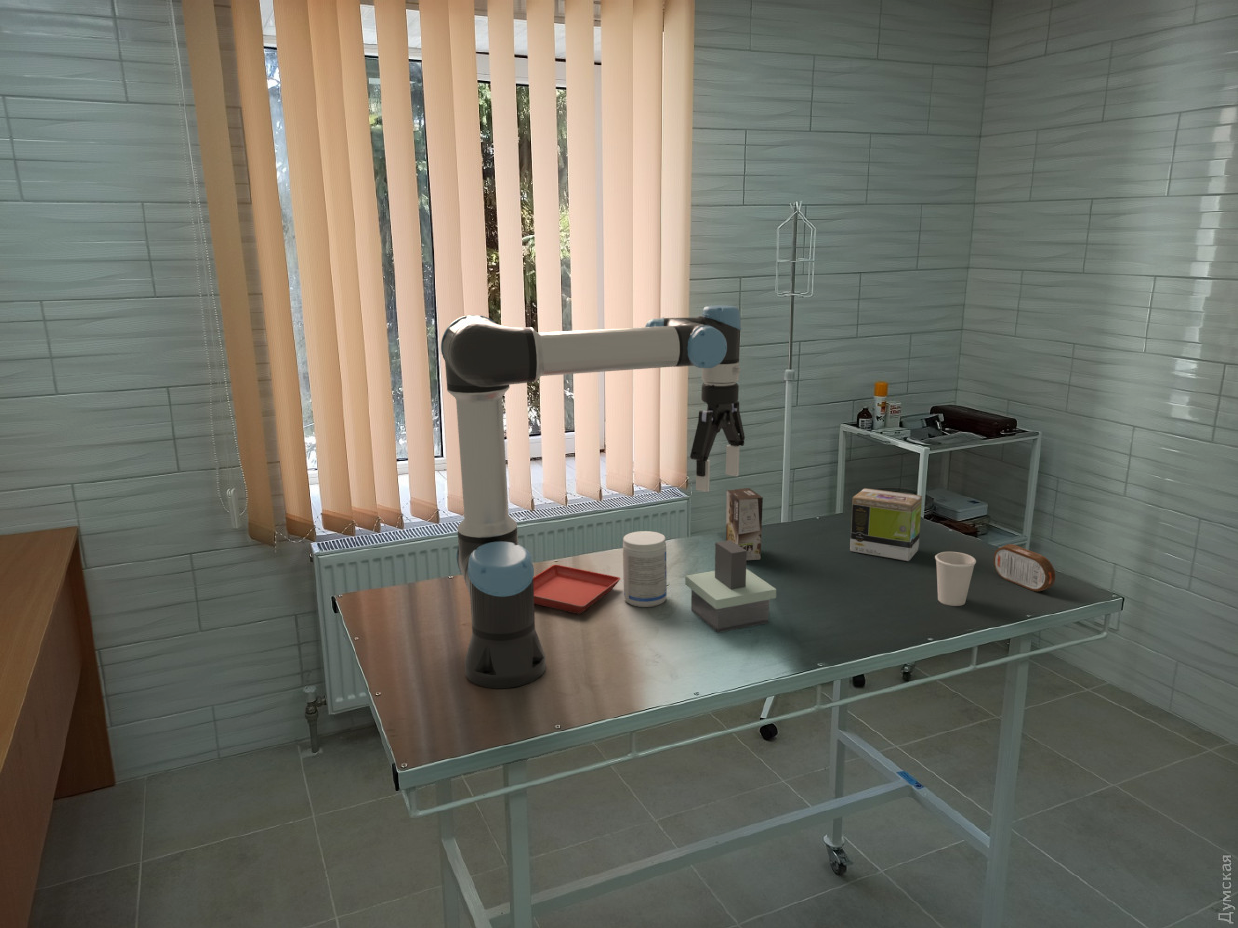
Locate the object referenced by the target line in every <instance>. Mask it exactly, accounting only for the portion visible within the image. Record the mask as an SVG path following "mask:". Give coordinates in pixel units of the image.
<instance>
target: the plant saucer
mask: <svg viewBox="0 0 1238 928" xmlns="http://www.w3.org/2000/svg"><path fill="white" fill-rule="evenodd" d="M620 580H621V578H620V577H618V576H615V575H610V574H604V573H600V572H595V571H590V570H587V569H586V570H585V569H580V568H577V567H571V566H566V565H560V564H553V565H551V566H549V567H547V568H546V569H544V570H542V571H541V572H540V573H538V574H535V576H533V585H534V605H538V606H543V607H546V608H552V609H556V610H561V611H564V612H570V613H573V614H582V613H583V612H585V611H586V610H587V609H589V608H590V607H591V606H592V605H594V604H595V603H597V602H598V601H599V600H601V599H602V598H603V597H605V595H607V594H609V592H611V591H612V590H613V589H614V588H615V587H616V586H617V585H618V583H619V582H620Z"/></svg>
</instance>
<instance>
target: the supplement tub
mask: <svg viewBox="0 0 1238 928" xmlns="http://www.w3.org/2000/svg"><path fill="white" fill-rule="evenodd" d="M622 540H623V543H622V567H623V568H622V569H623V571H622V572H623V598H624V600H625V602H626V603H627V604H629V605H631V606H635V607H639V608H651V607H656V606H659V605H661V604H663V603H664V602H665V601H666V600H667V595H668V594H667V593H668V592H667V589H668V587H667V583H668V582H667V579H668V578H667V577H668V576H667V572H668V571H667V569H668V568H667V543H666V541H667V540H666V536H665V535H664V534H662V533H660V532H657V531H650V530H649V531H648V530H647V531H646V530H645V531H644V530H641V531H633V532H630V533H627V534H625V535H624V536H623V539H622Z"/></svg>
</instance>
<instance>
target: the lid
mask: <svg viewBox="0 0 1238 928" xmlns="http://www.w3.org/2000/svg"><path fill="white" fill-rule="evenodd" d="M714 547H715V548H714V549H715V554H714V555H715V556H714V570H710V571H706V572H705V571H704V572H699V573H693V574H688V575H687V574H686V575H685V577H684V578H685V584H684V585H685V586H687V587H688V588H689V589H690V590H693V591H694V592H695V593H697V594H698V595H699V596H700V597H702V598H703V599H704V600H705V601H706V602H708V603H709V604H710V605H711V606H713V607H714V608H715V609H721V608H726V607H731V606H737V605H742V604H747V603H753V602H758V601H764V600H769V601H770V600H774V599H776V598H777V588H776V587H774V586H773V585H771V584H770V583H768V582H767V581H765V580H764V579H762V578H761V577H759V576H758V575H757V574H755V573H753V572H752V571H751V570H750V569H747V560H746V558H747V551H746V550H745V549H743V548H742V547H740V546H738V545H737V544H735V543H734V542H732V541H731V540H728V541H726V540H722V541H716V542H715V546H714Z"/></svg>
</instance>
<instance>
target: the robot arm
mask: <svg viewBox="0 0 1238 928" xmlns="http://www.w3.org/2000/svg"><path fill="white" fill-rule="evenodd" d="M741 324H742V321H741V311H740V309H739V308H738V307H737V306H734V305H727V304H726V305H725V304H724V305H723V304H717V305H716V304H715V305H707V306H704V307H703V310H702V313H701V316H700V315H699V316H695V317H694V316H693V317H665V316H664V317H661V318H653V319H648V321H647V322H646V324H645V326H643V327H641V326H640V327H627V328H626V327H624V328H607V329H606V328H605V329H603V328H601V329H587V330H585V329H584V330H583V329H582V330H568V331H567V330H566V331H549V332H548V331H547V332H537V330H535V329H534V328H533V327H531V326H528V327H525V326H524V327H514V326H507V325H501V324H499V323H497V322H495V321H494V320H492V319H491V318H490V317H487V316H484V315H481V314H479V315H478V314H477V315H476V314H469V315H465V316H461V317H458V318H457V319H455V320H454V321H451V323H450V324H449V325H448V326H447V327H446V328H445V330H444V333H443V335H442V338H441V342H440V343H441V344H440V352H441V355H442V359H443V360H444V364H445V367H444V368H445V379H446V390H447V392H448V393H449V394H450V395H451V396H453V398H455V402H456V414H457V415H456V416H457V430H458V431H457V432H458V433H457V434H458V444H459V446H458V447H459V457H460V472H461V486H462V489H461V490H462V500H463V503H462V504H463V515H464V519H463V520H462V521H461V522H460V523H459V524H458V525H457V527H456V528H457V542H458V544H457V548H456V555H455V557H456V558H455V559H456V563H457V564H456V565H457V567H458V569H459V572H460V573H461V574H460V575H462V577H463V580H464V583H465V585H466V588H467V591H468V593H469V598H470V601H469V602H470V615H471V616H470V617H471V630H472V631H471V637H470V641H469V643H468V647H467V650H466V654H465V658H464V674H465V677H466V678H467V679H468V680H469V682H471V683H473V684H475V685H477V686H481V687H484V688H489V689H510V688H515V687H517V688H518V687H520V686H524V685H528V684H529V683H532V682H534V681H535V680H537V679H538V678H539V679H540V677H541V676H542V675H543V674H544V672H545V671H546V668H547V667H546V666H547V665H546V653H545V651H544V648H543V646H542V643H541V641H540V637H539V635H538V633H537V630H536V624H535V621H536V620H535V619H536V618H535V617H536V616H535V604H534V585H533V577H535V576H534V575H535V567H534V563H533V557H532V555H531V552H529V550H528V549H526V548H525V547H524V546H523V545H521V544H519V537H518V535H519V533H518V523H517V521H516V520H515V519H514V518H513V517H511V516H510V514H509V513H510V512H509V497H508V496H509V495H508V478H507V464H506V463H507V462H506V461H507V460H506V446H505V429H504V428H505V425H504V411H503V410H504V409H503V396H504V394H505V393H506V392H507V391H508V390H509V389H510V386H511V385H518V384H530V383H536V382H537V381H538V380H539V379H540V378H541V377H542V376H543V377H545V376H546V377H547V376H549V377H550V376H559V375H573V374H574V375H575V374H588V373H589V374H591V373H601V372H615V371H629V370H645V369H659V368H677V367H678V368H679V367H680V368H681V367H696V368H699V369H701V381H703V383H702V384H701V395H700V396H701V402H704V403H705V404H706V405H707V407H706V410H699V412H698V418H697V419H698V420H697V425H696V429H695V433H694V438H693V442H692V447H691V450H690V456H689V458H690V459H691V460H695V462H696V463H695V472H696V473H695V491H699V492H705V493H709V492H710V482H711V481H710V477H711V476H710V475H711V473H710V472H711V469H710V468H711V460H710V459H709V457H710V453H711V452H712V451H711V450H712V449H713V446H714V443H715V440H716V437H717V434H718V433H720V432H721V430H722V431H723V433H724V436H725V438H726V441H727V442H728V444H727V445H726V448H725V451H726V452H725V476H731V477H738V476H739V475H740V473H739V471H740V469H739V467H740V446H741V447H743V446H744V445H745V438H746V436H745V432H744V431H745V430H744V426H743V422H742V418H741V417H742V416H741V413H740V402H739V389H740V385H739V384H738V383H737V382H738V381H740V380H739V378H740V372H741V368H740V348H741V347H740V344H741V331H742V328H741V327H742V326H741Z"/></svg>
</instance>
